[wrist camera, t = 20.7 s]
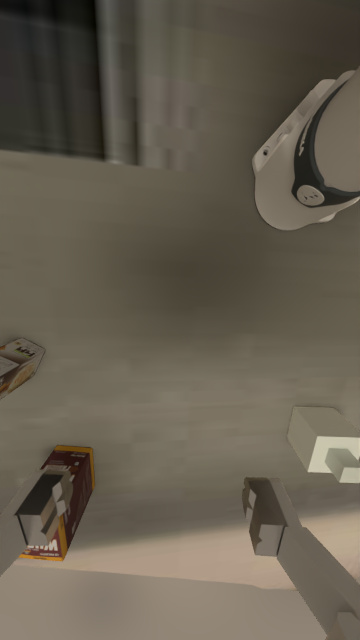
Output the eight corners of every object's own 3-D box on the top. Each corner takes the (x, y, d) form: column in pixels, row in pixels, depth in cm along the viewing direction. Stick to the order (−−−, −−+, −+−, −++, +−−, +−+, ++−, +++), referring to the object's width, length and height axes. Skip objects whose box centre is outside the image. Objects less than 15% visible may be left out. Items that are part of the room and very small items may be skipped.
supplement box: (92, 446, 53) (56, 518, 38) (95, 485, 57) (63, 563, 42) (56, 444, 53) (5, 514, 38) (62, 482, 57) (18, 559, 42)
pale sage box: (293, 406, 47) (332, 454, 35) (333, 407, 47) (386, 456, 35) (286, 437, 50) (320, 492, 38) (324, 438, 50) (370, 494, 38)
